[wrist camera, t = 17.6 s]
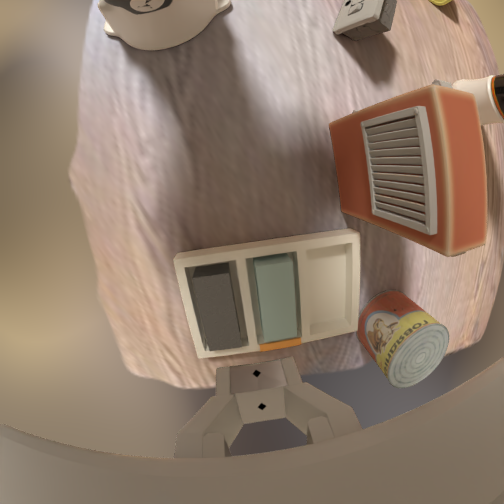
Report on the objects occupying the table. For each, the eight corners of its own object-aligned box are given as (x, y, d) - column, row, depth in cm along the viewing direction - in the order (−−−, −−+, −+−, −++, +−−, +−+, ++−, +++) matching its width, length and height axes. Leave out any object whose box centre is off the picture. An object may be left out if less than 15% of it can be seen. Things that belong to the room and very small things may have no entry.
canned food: (376, 281, 40) (419, 316, 29) (419, 299, 42) (459, 331, 31) (344, 340, 43) (373, 385, 31) (388, 350, 45) (420, 389, 33)
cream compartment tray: (177, 252, 36) (172, 260, 33) (350, 228, 37) (361, 233, 34) (200, 347, 41) (198, 360, 37) (350, 322, 42) (358, 332, 39)
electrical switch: (344, -2, 27) (372, -26, 18) (370, 14, 28) (402, -6, 19) (330, 33, 29) (361, 9, 20) (359, 50, 30) (395, 31, 22)
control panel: (364, 113, 33) (377, 214, 37) (320, 114, 33) (335, 222, 37) (476, 80, 12) (489, 258, 17) (418, 64, 12) (438, 277, 16)
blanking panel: (252, 256, 37) (255, 266, 33) (285, 252, 37) (292, 261, 33) (261, 326, 40) (264, 342, 36) (291, 322, 40) (297, 336, 36)
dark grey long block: (195, 267, 36) (192, 278, 33) (228, 262, 37) (229, 273, 33) (210, 335, 40) (209, 351, 36) (240, 331, 40) (241, 347, 36)
